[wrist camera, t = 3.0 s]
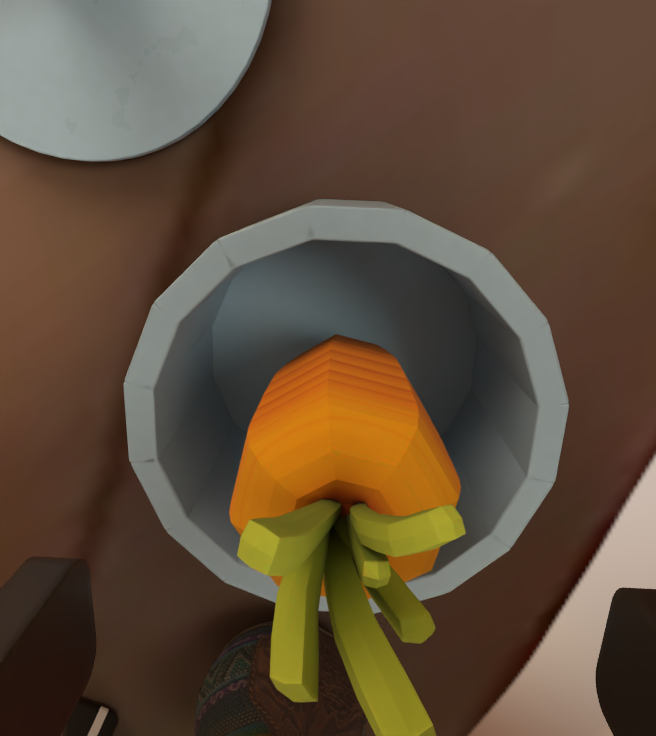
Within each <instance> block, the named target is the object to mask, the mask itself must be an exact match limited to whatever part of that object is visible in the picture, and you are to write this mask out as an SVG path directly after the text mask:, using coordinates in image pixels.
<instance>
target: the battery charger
mask: <svg viewBox="0 0 656 736" xmlns="http://www.w3.org/2000/svg"><path fill="white" fill-rule="evenodd" d="M117 724H118V716H117V715H116V714H114V713H112V712H109V709H108V708H105V707H102V706H101V708H99V707H96V706H94V705H91V704H89V703H84V702H80V701H78V703H77V705H76V707H75V709H74V711H73V713H72V715H71V717H70V719H69V721H68V723H67V725H66V727H65V728H64V730H63V732H62V734H61V736H113V734H114V731H115V729H116V726H117Z"/></svg>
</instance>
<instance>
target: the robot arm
mask: <svg viewBox="0 0 656 736" xmlns="http://www.w3.org/2000/svg"><path fill="white" fill-rule="evenodd" d="M95 654H96V632H95V622H94V612H93V603H92V593H91V583H90V574H89V568H88V565H87V563H86V561H85V560H83V559H74V558H54V557H31V558H29V559H27V560H26V561H25V562H24V563H23V564H22V565H21V566H20V568H19V569H18V570H17V571H16V572H15V573H14V575H13V576H12V577H11V578H10V579H9V580H8V582H7V583H6V584H5V585H4V586H3V587H2V589H1V590H0V736H61V734H62V732H63V730H64V728H65V727H66V725H67V723H68V721H69V719H70V717H71V715H72V713H73V711H74V709H75V707H76V705H77V703H78V701H79V700H80V698H81V696H82V694H83V692H84V690H85V688H86V686H87V684H88V681H89V678H90V676H91V672H92V669H93V665H94V660H95ZM596 688H597V694H598V699H599V703H600V707H601V709H602V712H603V715H604V716H605V719H606V721H607V723H608V725H609V727H610V729H611V731H612V733H613V735H614V736H656V589H639V588H638V589H637V588H619V589H618V590H617V591H616V592H615V594H614V596H613V599H612V602H611V607H610V611H609V615H608V619H607V624H606V628H605V632H604V637H603V641H602V645H601V650H600V654H599V658H598V662H597V667H596Z"/></svg>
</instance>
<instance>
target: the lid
mask: <svg viewBox="0 0 656 736" xmlns="http://www.w3.org/2000/svg"><path fill="white" fill-rule="evenodd" d="M271 1H272V0H0V136H2V137H4V138H6V139H8V140H9V141H11V142H13V143H15V144H18V145H20V146H23V147H25V148H28V149H31V150H33V151H36V152H38V153H42V154H46V155H50V156H54V157H58V158H62V159H70V160H79V161H88V162H104V161H119V160H125V159H131V158H137V157H141V156H144V155H147V154H150V153H153V152H156V151H159V150H161V149H163V148H165V147H167V146H169V145H171V144H173V143H175V142H177V141H179V140H181V139H183V138H184V137H186V136H187V135H189V134H190V133H192V132H193V131H194V130H196V129H197V128H199V127H200V126H202V125H203V124H204V123H205V122H206V121H207V120H208V119H209V118H210V117H211V116H212V115H213V114H214V113H216V112H217V111H218V110H219V109H220V108H221V106H222V105H223V104H224V103H225V101H226V100H227V99H228V98H229V96H230V95H231V94H232V93H233V92H234V90H235V89H236V88H237V86H238V84H239V83H240V81H241V79H242V78H243V76H244V74H245V73H246V71H247V69H248V68H249V66H250V64H251V62H252V60H253V57H254V55H255V53H256V51H257V48H258V46H259V44H260V42H261V39H262V35H263V32H264V29H265V26H266V22H267V19H268V16H269V12H270V6H271Z"/></svg>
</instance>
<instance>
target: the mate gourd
mask: <svg viewBox="0 0 656 736" xmlns="http://www.w3.org/2000/svg"><path fill="white" fill-rule="evenodd" d="M272 628H273V621H270V622H265V623H261V624H258V625H255V626H253V627H250V628H248V629H246V630H244V631H242V632H241V633H239V634H238V635H236V636H235V637H234V638H232V639H231V640H230V641H229V642H228V643H227V644H226V645H225V647H224V648H223V650H222V651H221V653H220V656H219V657H218V658H217V659H215V661H214V664H213V665H212V667H211V669H210V670H209V673H208V674H207V676H206V677H205V680H204V683H203V685H202V687H201V688H200V691H199V696H198V700H197V704H196V712H195V736H365V726H366V715H365V713H364V711H363V709H362V707H361V705H360V703H359V701H358V699H357V696H356V694H355V691H354V689H353V686H352V684H351V681H350V678H349V676H348V673H347V671H346V668H345V665H344V663H343V660H342V658H341V655H340V653H339V650H338V647H337V645H336V642H335V639H334V635H332V634H331V633H330V632H328V631H326V630H324V629H323V628H321V627H320V626H318V628H319V675H318V701H315V702H293V701H292V700H290V699H289V698H288V697H286V696H285V695H284V694H282V693H281V692H280V691H278V690H277V689H276V687H275V685H274V684H273V682H272V680H271V678H270V658H271V636H272Z"/></svg>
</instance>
